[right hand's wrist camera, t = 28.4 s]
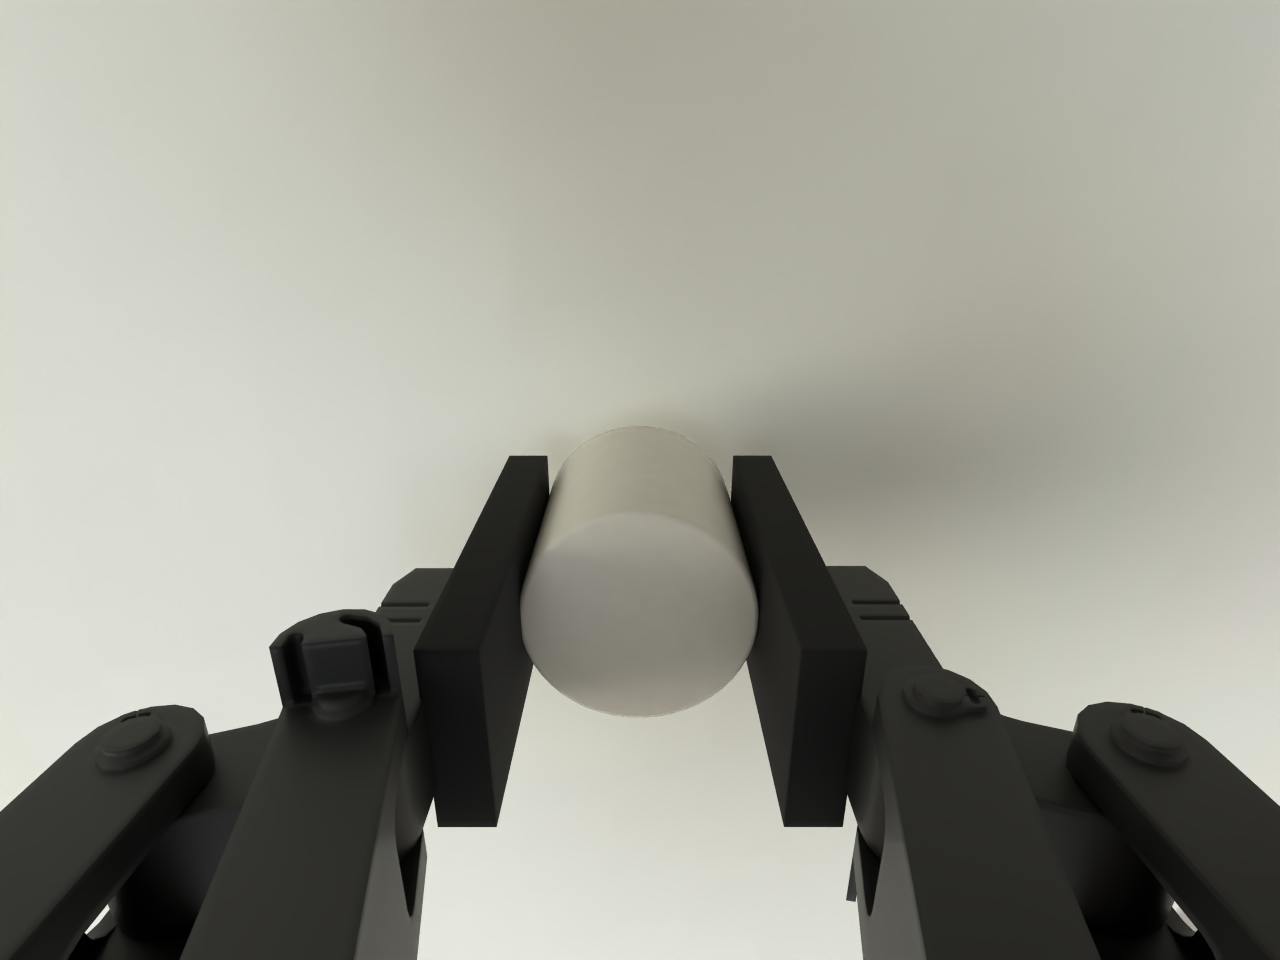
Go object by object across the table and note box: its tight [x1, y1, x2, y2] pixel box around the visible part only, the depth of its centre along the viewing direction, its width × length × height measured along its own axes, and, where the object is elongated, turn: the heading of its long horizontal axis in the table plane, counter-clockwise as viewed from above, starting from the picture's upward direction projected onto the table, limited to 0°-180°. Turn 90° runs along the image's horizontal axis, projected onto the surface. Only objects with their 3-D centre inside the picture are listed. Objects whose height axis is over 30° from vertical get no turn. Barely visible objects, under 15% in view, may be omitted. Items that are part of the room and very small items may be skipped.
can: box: [520, 426, 759, 717], centre depth 13 cm, size 4×4×4 cm
